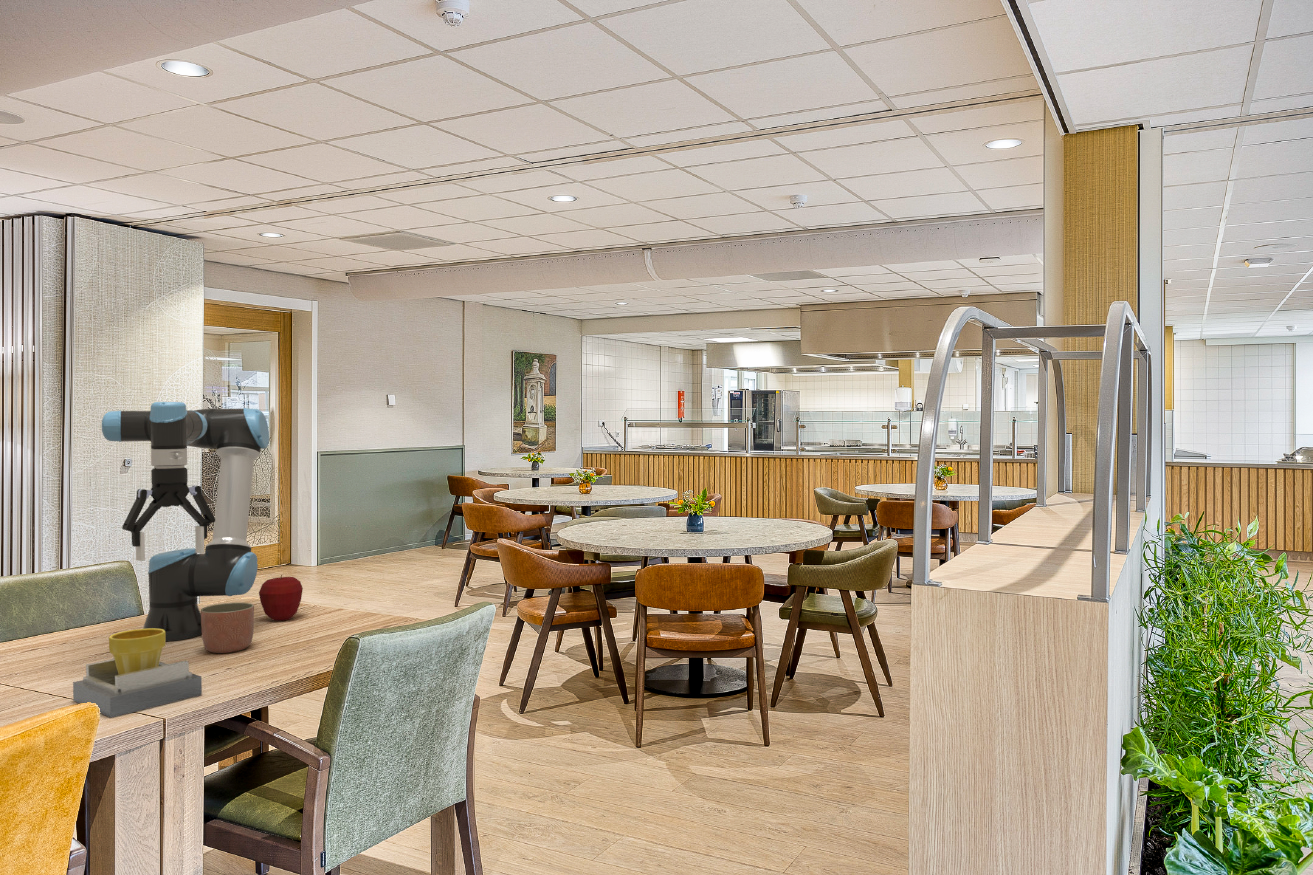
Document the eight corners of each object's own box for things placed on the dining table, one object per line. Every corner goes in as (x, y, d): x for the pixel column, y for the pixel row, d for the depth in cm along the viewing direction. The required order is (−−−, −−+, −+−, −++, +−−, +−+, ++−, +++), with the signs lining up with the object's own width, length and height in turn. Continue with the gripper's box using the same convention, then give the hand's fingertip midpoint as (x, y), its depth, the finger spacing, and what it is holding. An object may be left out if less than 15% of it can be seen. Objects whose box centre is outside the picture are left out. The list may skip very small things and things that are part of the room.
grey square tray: (70, 699, 189) (70, 664, 189) (159, 679, 203) (159, 646, 203) (110, 717, 177) (109, 680, 177) (201, 694, 192) (201, 660, 192)
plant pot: (126, 672, 195) (125, 627, 195) (175, 671, 195) (174, 627, 195) (99, 686, 185) (98, 639, 184) (150, 685, 185) (149, 638, 185)
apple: (294, 613, 272) (294, 569, 272) (309, 619, 264) (308, 574, 264) (253, 619, 264) (253, 574, 264) (267, 625, 256) (266, 579, 255)
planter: (265, 646, 233) (264, 604, 233) (224, 657, 222) (223, 614, 221) (231, 641, 238) (231, 600, 238) (190, 652, 227) (189, 609, 227)
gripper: (119, 470, 199) (121, 565, 199) (229, 465, 219) (230, 551, 219) (104, 469, 203) (106, 562, 204) (214, 464, 223) (215, 548, 224)
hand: (171, 556), depth 212 cm, fingers open, 13 cm apart
